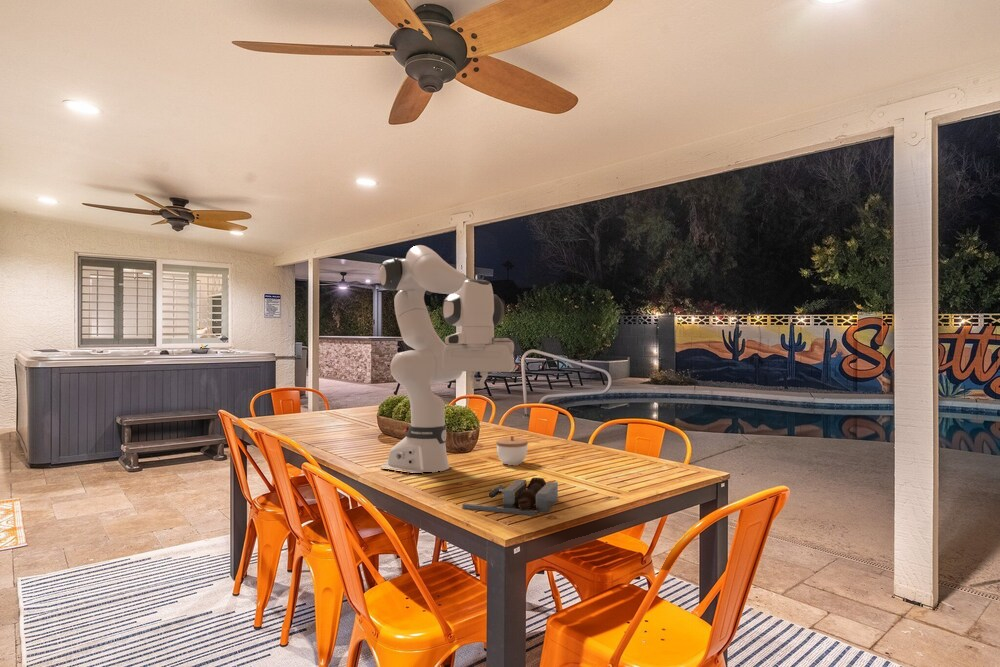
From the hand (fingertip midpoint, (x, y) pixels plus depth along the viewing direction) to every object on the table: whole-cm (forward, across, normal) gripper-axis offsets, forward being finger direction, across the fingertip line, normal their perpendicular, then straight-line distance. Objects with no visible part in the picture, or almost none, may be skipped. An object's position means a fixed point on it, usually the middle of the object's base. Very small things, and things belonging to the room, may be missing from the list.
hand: (477, 388), depth 154 cm
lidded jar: (+29, +3, -40) cm, 50 cm away
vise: (+29, -11, +5) cm, 32 cm away
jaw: (+29, -10, +4) cm, 31 cm away
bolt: (+30, -16, +2) cm, 34 cm away
